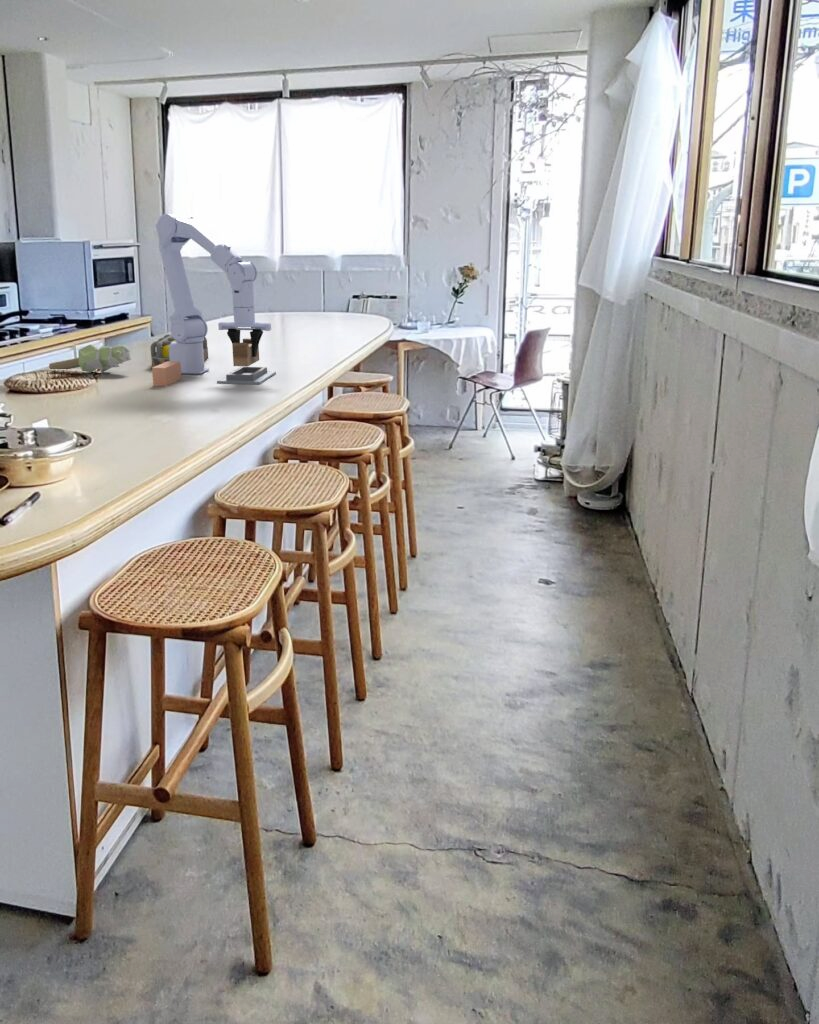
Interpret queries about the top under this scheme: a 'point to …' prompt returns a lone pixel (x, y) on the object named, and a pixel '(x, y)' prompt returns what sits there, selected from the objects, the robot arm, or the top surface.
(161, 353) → the cage light
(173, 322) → the robot arm
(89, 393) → the top surface
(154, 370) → the salmon pink cuboid
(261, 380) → the jig
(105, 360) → the decorative object
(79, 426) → the top surface
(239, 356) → the tan notched block
